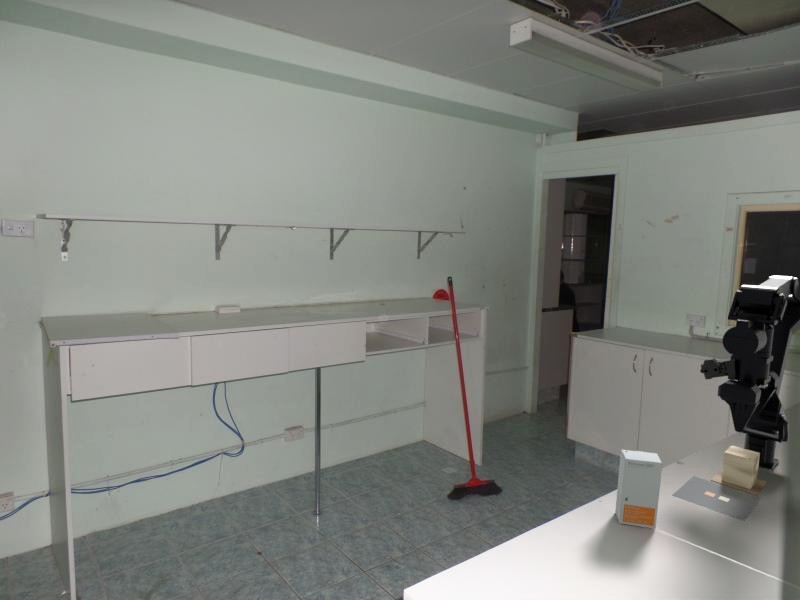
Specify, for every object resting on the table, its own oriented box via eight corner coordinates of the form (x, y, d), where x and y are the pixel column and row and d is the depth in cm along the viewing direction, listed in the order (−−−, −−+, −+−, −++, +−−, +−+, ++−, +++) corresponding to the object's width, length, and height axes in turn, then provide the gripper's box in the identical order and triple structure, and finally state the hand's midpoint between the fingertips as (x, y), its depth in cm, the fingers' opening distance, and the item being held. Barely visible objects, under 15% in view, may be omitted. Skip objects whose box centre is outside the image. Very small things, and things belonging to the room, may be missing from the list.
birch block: (728, 472, 111) (731, 445, 110) (756, 481, 107) (759, 452, 106) (721, 480, 107) (724, 452, 107) (750, 489, 104) (753, 460, 103)
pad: (722, 469, 113) (722, 468, 113) (767, 483, 107) (767, 481, 107) (710, 481, 107) (710, 479, 107) (756, 496, 102) (756, 494, 102)
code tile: (693, 476, 109) (693, 475, 109) (762, 499, 101) (762, 497, 101) (671, 496, 101) (671, 495, 101) (744, 522, 92) (744, 520, 92)
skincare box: (618, 524, 91) (624, 458, 89) (615, 512, 95) (619, 448, 93) (657, 530, 89) (663, 462, 88) (651, 516, 94) (657, 452, 92)
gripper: (722, 337, 116) (715, 405, 118) (692, 348, 103) (684, 425, 105) (783, 345, 108) (774, 419, 110) (759, 359, 95) (750, 442, 97)
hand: (745, 426), depth 106 cm, fingers open, 9 cm apart
